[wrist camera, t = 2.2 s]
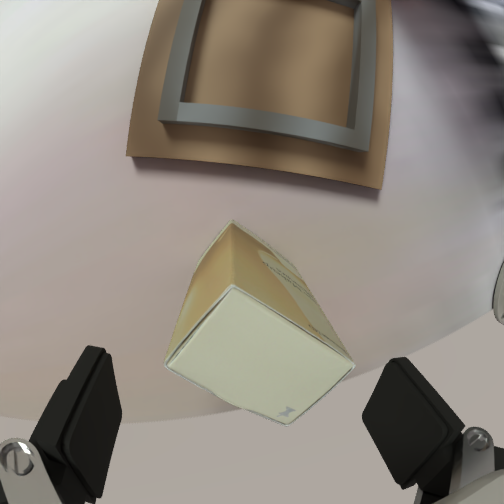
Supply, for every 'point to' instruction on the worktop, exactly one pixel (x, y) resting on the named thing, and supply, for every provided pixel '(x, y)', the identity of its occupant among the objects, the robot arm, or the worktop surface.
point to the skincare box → (255, 331)
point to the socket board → (268, 86)
